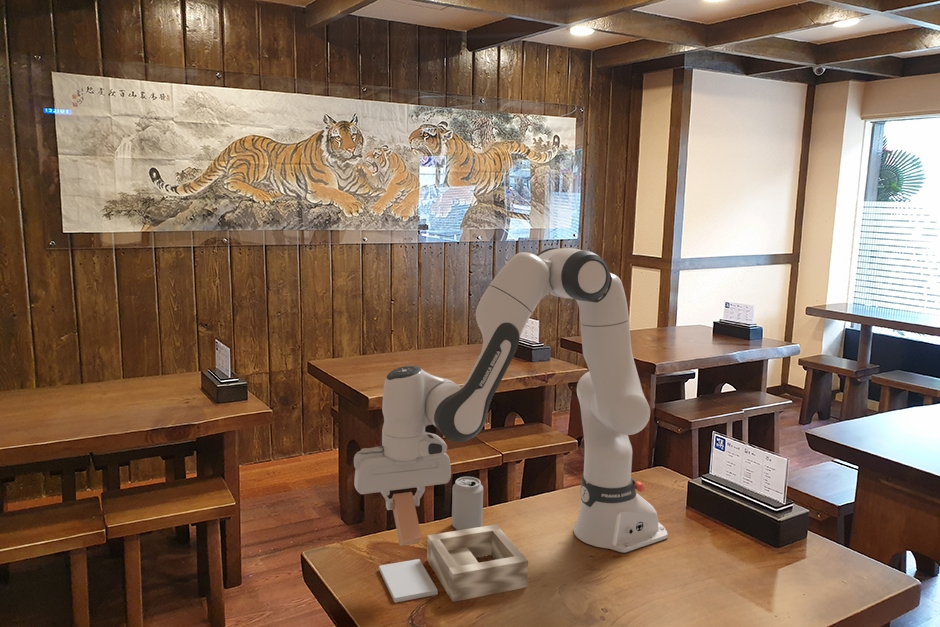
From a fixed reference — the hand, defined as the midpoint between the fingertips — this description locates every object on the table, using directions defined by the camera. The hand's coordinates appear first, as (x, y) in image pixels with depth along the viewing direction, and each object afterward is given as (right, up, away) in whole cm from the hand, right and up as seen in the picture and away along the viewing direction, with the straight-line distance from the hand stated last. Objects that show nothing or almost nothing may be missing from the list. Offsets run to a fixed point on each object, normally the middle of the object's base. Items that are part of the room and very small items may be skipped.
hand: (402, 506), depth 150 cm
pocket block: (+15, -15, +3) cm, 22 cm away
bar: (+1, -3, -1) cm, 3 cm away
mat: (+1, -16, -1) cm, 16 cm away
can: (+13, -12, +24) cm, 30 cm away
